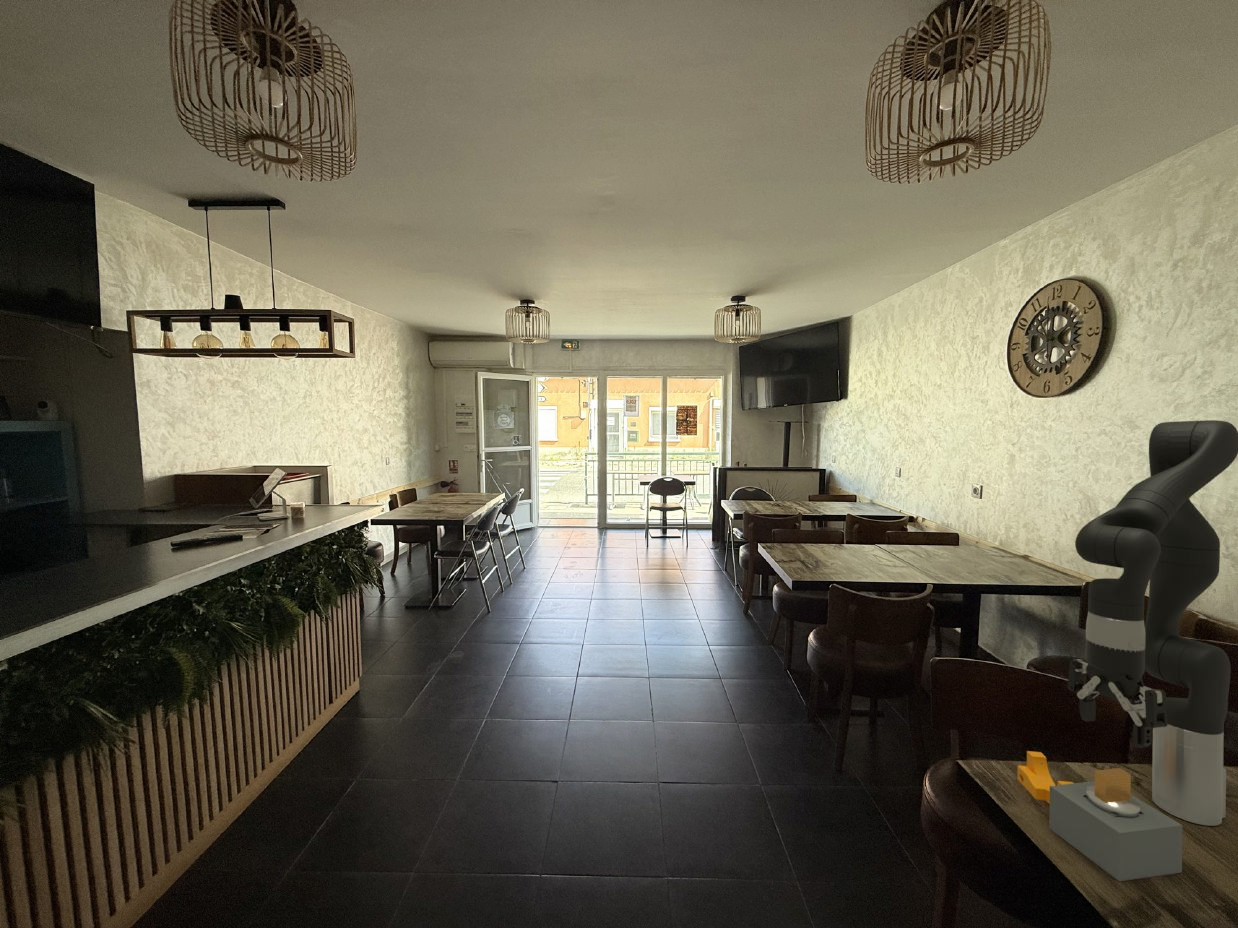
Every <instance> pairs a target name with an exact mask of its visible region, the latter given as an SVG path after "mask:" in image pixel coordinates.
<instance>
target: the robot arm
mask: <svg viewBox="0 0 1238 928" xmlns="http://www.w3.org/2000/svg"><path fill="white" fill-rule="evenodd" d="M1237 457H1238V430H1237V428H1236V426H1235V425H1233V423H1231V422H1229V421H1225V420H1211V419H1210V420H1207V419H1206V420H1184V421H1183V420H1181V421H1163V422H1160V423H1157V424H1156V425H1155V426H1154V427H1153V428H1152V430H1151V432H1150V436H1149V440H1148V462H1149V473H1150V476H1149V477H1147V478H1145V479H1143V480H1141V481H1139V482H1138V483H1136V484H1135V485H1133V486H1132V487H1131V488H1130V489H1129V490H1128V491H1127V492H1126V493H1125V494H1124V496H1123V497H1122V498H1121V499H1120V501H1119V502H1118V503H1117V505H1115V507H1113V508H1110V509H1109V510H1107V511H1105V512H1103V513H1102V514H1100V515H1099V516H1097V517H1095V518H1093V519H1092V520H1090V521H1088V522H1087V523H1086V524H1085V525H1084V526H1083V527H1082V528H1081V529H1080V530H1079V531H1078V533H1077V535H1076V538H1075V541H1074V546H1075V550H1076V552H1077V554H1078V556H1079V557H1080V558H1081V559H1083V560H1084V561H1086V562H1088V563H1092V564H1094V565H1101V566H1107V567H1113V568H1114V567H1115V568H1120V569H1123V571H1122V574H1121V575H1120V576H1119V578H1114V577H1113V578H1112V577H1111V578H1109V577H1108V578H1107V577H1106V578H1096V579H1092V580H1091V581H1090V582H1089V584H1088V597H1087V599H1088V600H1087V601H1088V603H1087V617H1086V621H1085V658H1081V659H1080V658H1079V659H1077V658H1076V659H1070V660H1069V662H1068V676H1067V677H1068V678H1067V690H1068V691H1070V692H1073V693H1075V694H1076V696H1077V697H1078V698H1079V711H1078V712H1079V715H1080V717H1081V719H1082V720H1083V721H1085V722H1087V723H1088V722H1094V721H1096V716H1097V713H1096V712H1097V710H1096V709H1097V701H1096V700H1095V698H1097V697H1098V696H1099V695H1100V696H1102V697H1105V698H1109V699H1111V700H1112V701H1113V702H1116V703H1118V704H1120V706H1121V707H1122V709H1123V710H1124V711H1125V712H1127V713H1128V714H1129V715H1130V718H1131V719H1132V721H1133V722H1134V723H1133V724H1132V728H1133V729H1132V745H1134V746H1135V747H1137V748H1138V749H1142V748H1148V747H1149V746H1151V745H1152V768H1151V769H1152V771H1151V773H1152V777H1151V781H1152V782H1151V785H1152V786H1151V787H1152V789H1151V800H1152V802H1153V803H1154V804H1155V805H1156V806H1157V807H1159V808H1160V809H1161V810H1163V811H1165V812H1166V813H1168V814H1170V815H1172V816H1174V817H1176V818H1179V819H1181V820H1184V821H1186V822H1190V823H1192V824H1197V825H1202V826H1207V827H1208V826H1210V827H1211V826H1212V827H1215V826H1220V825H1221V824H1222V823H1223V818H1224V819H1225V818H1226V807H1227V806H1226V799H1227V798H1226V796H1227V795H1226V794H1227V792H1226V791H1227V769H1226V767H1224V733H1225V732H1224V731H1225V721H1226V718H1227V713H1228V706H1229V705H1228V704H1229V702H1228V701H1229V691H1230V683H1231V675H1232V674H1231V671H1232V669H1231V662H1230V658H1229V656H1228V654H1227V652H1225V650H1224V649H1222V648H1221V647H1218V646H1216V645H1212V644H1210V643H1207V642H1206V643H1205V642H1201V641H1198V640H1194V639H1191V638H1187V637H1184V636H1183V637H1182V636H1180V634H1179V631H1180V630H1179V629H1180V623H1181V619H1182V616H1183V614H1184V612H1185V611H1186V609H1187V608H1188V607H1189V606H1190V605H1191V604H1192V603H1193V602H1194V601H1195V600H1196V599H1197V598H1198V597H1199V596H1200V595H1202V594H1203V593H1204V592H1205V591H1206V590H1207V589H1209V587H1210V586H1212V585H1213V583H1214V582H1215V581H1216V580H1217V578H1218V577H1219V573H1220V562H1221V561H1220V560H1221V559H1220V558H1221V541H1220V537H1219V536H1218V533H1217V532H1216V531H1215V529H1214V527H1213V526H1212V524H1210V522H1209V521H1208V520H1207V519H1206V517H1204V515H1203V514H1202V513H1201V512H1200V511H1199V510H1198V508H1197V507H1196V506H1195V504H1193V502H1192V501H1191V500H1190V498H1191V497H1193V495H1195V494H1196V493H1197V492H1199V491H1200V490H1201V489H1203V488H1204V487H1205V486H1206V485H1208V484H1209V483H1210V482H1212V481H1213V480H1215V478H1216V477H1218V476H1219V475H1220V474H1222V472H1224V471H1225V470H1226V469H1228V468H1229V467H1230V466H1231V465H1232V464H1233V462H1234V461H1235V460H1236V458H1237ZM1148 585H1149V591H1148V603H1147V612H1146V620H1145V614H1144V613H1145V596H1146V592H1147V589H1148ZM1145 672H1146V673H1148V674H1149V675H1150V676H1151V677H1153V678H1156V679H1159V680H1162V681H1164V682H1167V683H1170V684H1173V685H1176V686H1179V687H1182V688H1185V689H1188V690H1189V691H1188V696H1187V698H1182V697H1172V696H1171V697H1170V696H1169V697H1168V696H1167V693H1166V692H1165V690H1163V689H1161V688H1155V689H1154V688H1151V687H1149V686H1145V684H1144V682H1143V675H1144V674H1145ZM1087 675H1088V678H1089V679H1090V680H1089V681H1088V682H1087ZM1086 682H1087V683H1086ZM1133 701H1134V703H1135V704H1132V702H1133Z"/></svg>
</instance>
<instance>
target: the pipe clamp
mask: <svg viewBox="0 0 1238 928" xmlns="http://www.w3.org/2000/svg"><path fill="white" fill-rule="evenodd" d="M1047 760H1048V759H1047V757H1046V756H1045V755H1044V754H1043V753H1042V752H1041V751H1032V750H1031V751H1029V750H1026V765H1017V780H1018V782H1019V783H1020V784H1021V785H1022V786H1023V788H1024V789H1026V790H1027V791H1028V792H1029V794H1030V795H1031V796H1032V797H1033V798H1034V800H1038V801H1045V802H1046V803H1048V804H1049V799H1050V786H1055V785H1056V783H1055V782H1054V780H1053V778H1052V776H1051V774H1050V771H1049V768H1048V762H1047ZM1041 763H1043V764H1041ZM1073 783H1074V782H1073V781H1063V780H1057V785H1064V784H1073Z"/></svg>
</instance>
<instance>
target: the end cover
mask: <svg viewBox="0 0 1238 928" xmlns="http://www.w3.org/2000/svg"><path fill="white" fill-rule="evenodd" d="M1131 780H1132V775H1131V773H1129V772H1127V771H1126V770H1124V769H1122V768H1119V767H1118V768H1116V767H1115V768H1109V769H1100V770H1095V771H1094V781H1095V785H1092V786H1089V787H1087V789H1086V796H1087V798H1088V800H1089V801H1090V802H1092V803H1093V804H1094V805H1096V806H1097V807H1099V808H1101V809H1103V810H1105V811H1107V812H1108V813H1110V814H1111V815H1113V816H1114V817H1123V816H1125V817H1136V816H1138V815H1139V814H1140V805H1139V804H1138V802H1137V801H1136V800H1134V799H1133V798H1132V797H1131V795H1132V794H1131V790H1132V789H1131V788H1132V787H1131V786H1132V785H1131V784H1132V781H1131Z"/></svg>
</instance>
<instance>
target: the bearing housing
mask: <svg viewBox="0 0 1238 928" xmlns="http://www.w3.org/2000/svg"><path fill="white" fill-rule="evenodd" d="M1092 785H1095V780H1091V781H1084V782H1083V781H1082V782H1075V783H1074V782H1073V784H1064V785H1056V784H1055V786H1050V799H1049V803H1048V804H1049V812H1048V813H1049V818H1048V819H1049V824H1048V829H1049V830H1051V831H1052V832H1053V833H1054V834H1056V835H1057V836H1059V837H1060V838H1061V839H1063V840H1064V841H1065V842H1067V843H1068V844H1069V845H1070V846H1072V847H1073V848H1074V849H1076V850H1077V851H1078V852H1080V854H1082V855H1083V856H1085V857H1086V858H1087V859H1089V860H1090V861H1092V862H1093V863H1094V864H1095V865H1097V866H1098V867H1099V868H1100V869H1102V870H1104V871H1105V872H1106V873H1107V874H1109V875H1110V876H1111V877H1113V878H1114V879H1115V880H1116V881H1118V882H1125V881H1130V880H1131V881H1132V880H1138V879H1140V880H1141V879H1147V878H1153V877H1154V878H1155V877H1161V876H1168V875H1176V874H1181V873H1183V839H1184V838H1183V837H1184V835H1183V833H1184V831H1183V829H1184V828H1183V824H1181V823H1180V822H1178V821H1177V820H1174V819H1173V818H1172V817H1169V816H1168V815H1166V814H1164V813H1163V812H1161V811H1159V810H1158V809H1156V808H1154V807H1153V806H1151V805H1150V804H1148V803H1146V802H1144V801H1143V800H1141V799H1139V798H1137V797H1135V796H1134V795H1133V794H1131V797H1132V798H1133V799H1134V800H1136V801H1137V802H1138V804H1139V805H1140V814H1139V815H1138V816H1136V817H1125V816H1123V817H1114V816H1113V815H1111V814H1110V813H1108V812H1107V811H1105V810H1103V809H1101V808H1099V807H1097V806H1096V805H1094V804H1093V803H1092V802H1090V801H1089V800H1088V798H1087V796H1086V789H1087V787H1089V786H1092Z"/></svg>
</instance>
